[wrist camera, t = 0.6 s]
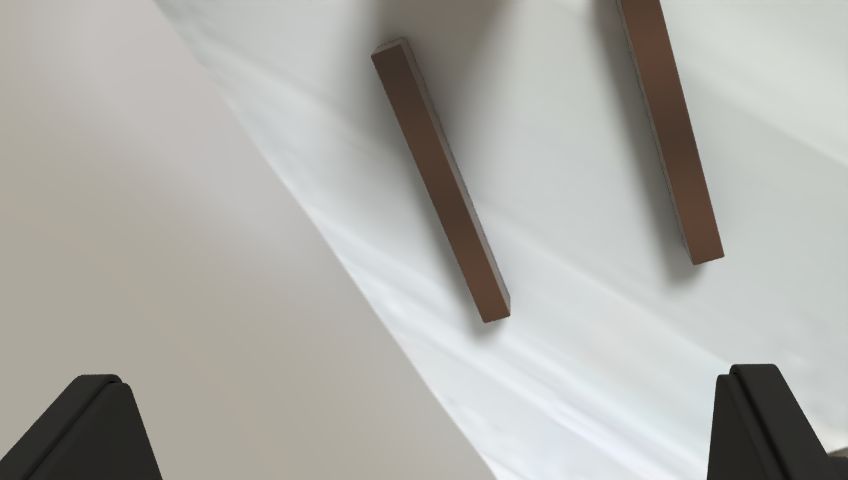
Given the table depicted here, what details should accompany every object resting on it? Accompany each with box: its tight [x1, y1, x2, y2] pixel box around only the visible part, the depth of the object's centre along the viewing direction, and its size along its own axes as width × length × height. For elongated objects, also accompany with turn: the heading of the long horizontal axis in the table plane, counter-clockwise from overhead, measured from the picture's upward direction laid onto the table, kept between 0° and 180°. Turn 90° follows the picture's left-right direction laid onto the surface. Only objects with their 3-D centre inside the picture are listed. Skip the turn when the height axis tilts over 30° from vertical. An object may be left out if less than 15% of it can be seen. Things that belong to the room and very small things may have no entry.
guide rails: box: [371, 0, 724, 323], centre depth 36 cm, size 16×13×2 cm
